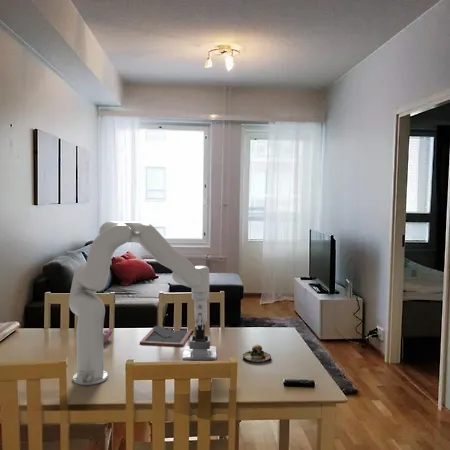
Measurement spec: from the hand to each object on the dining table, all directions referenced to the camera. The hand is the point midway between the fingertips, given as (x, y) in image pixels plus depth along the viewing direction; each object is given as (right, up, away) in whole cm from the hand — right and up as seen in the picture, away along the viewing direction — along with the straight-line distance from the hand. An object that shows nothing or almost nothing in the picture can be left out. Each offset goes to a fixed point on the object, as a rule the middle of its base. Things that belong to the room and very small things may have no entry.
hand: (200, 336), depth 206 cm
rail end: (0, -3, 0) cm, 3 cm away
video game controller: (-45, -6, +14) cm, 47 cm away
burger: (+24, -9, -5) cm, 26 cm away
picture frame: (-17, -6, +23) cm, 29 cm away
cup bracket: (0, -8, +1) cm, 8 cm away
